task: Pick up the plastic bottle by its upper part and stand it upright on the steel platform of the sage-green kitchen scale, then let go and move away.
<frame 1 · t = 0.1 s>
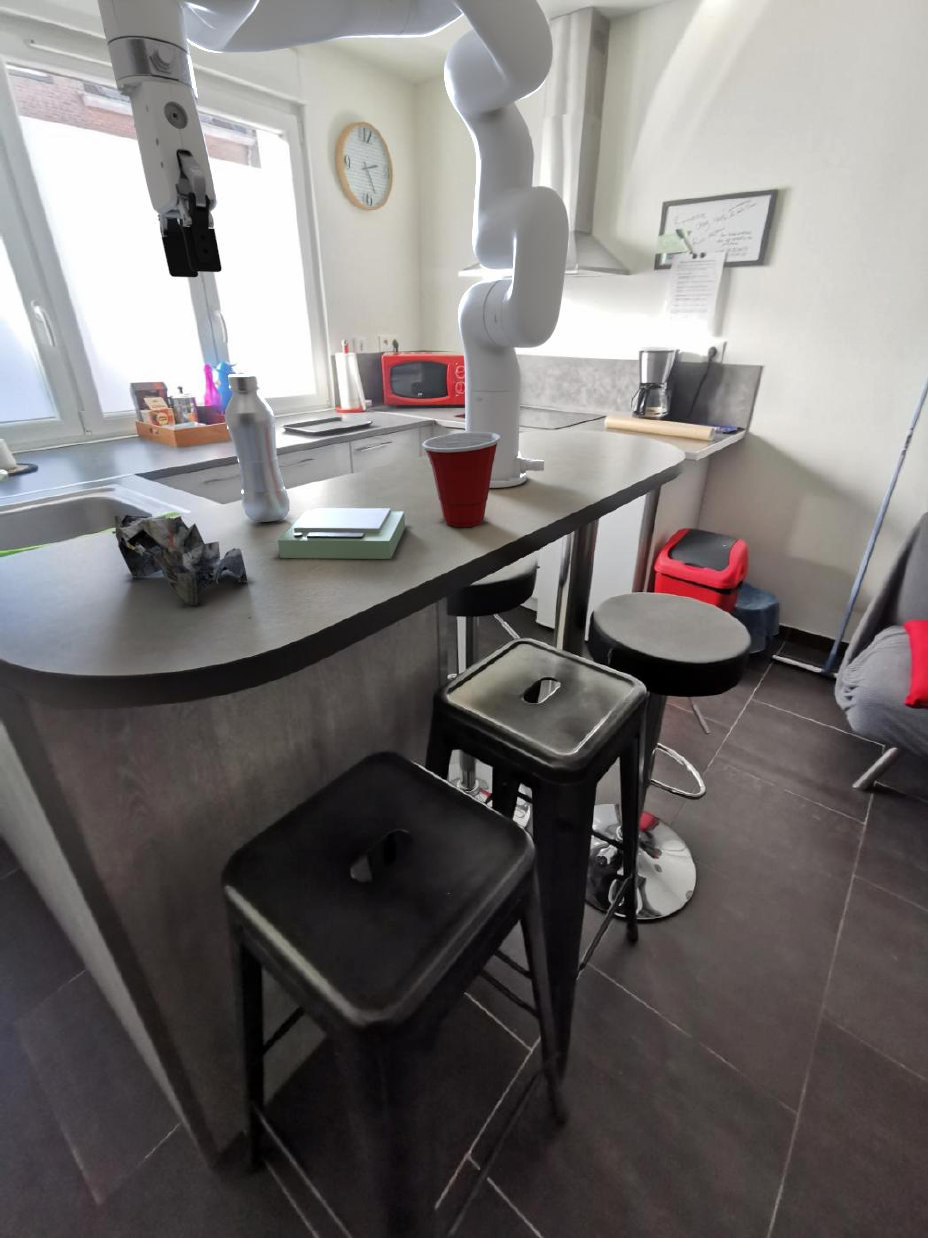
hand: (195, 274, 66), 31 cm above the countertop, tool pointing down, fingers open, 9 cm apart
crumpled newspaper: (188, 585, 64), on the countertop
plastic cup: (462, 522, 83), on the countertop
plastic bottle: (269, 521, 85), on the countertop
scale: (346, 541, 76), on the countertop
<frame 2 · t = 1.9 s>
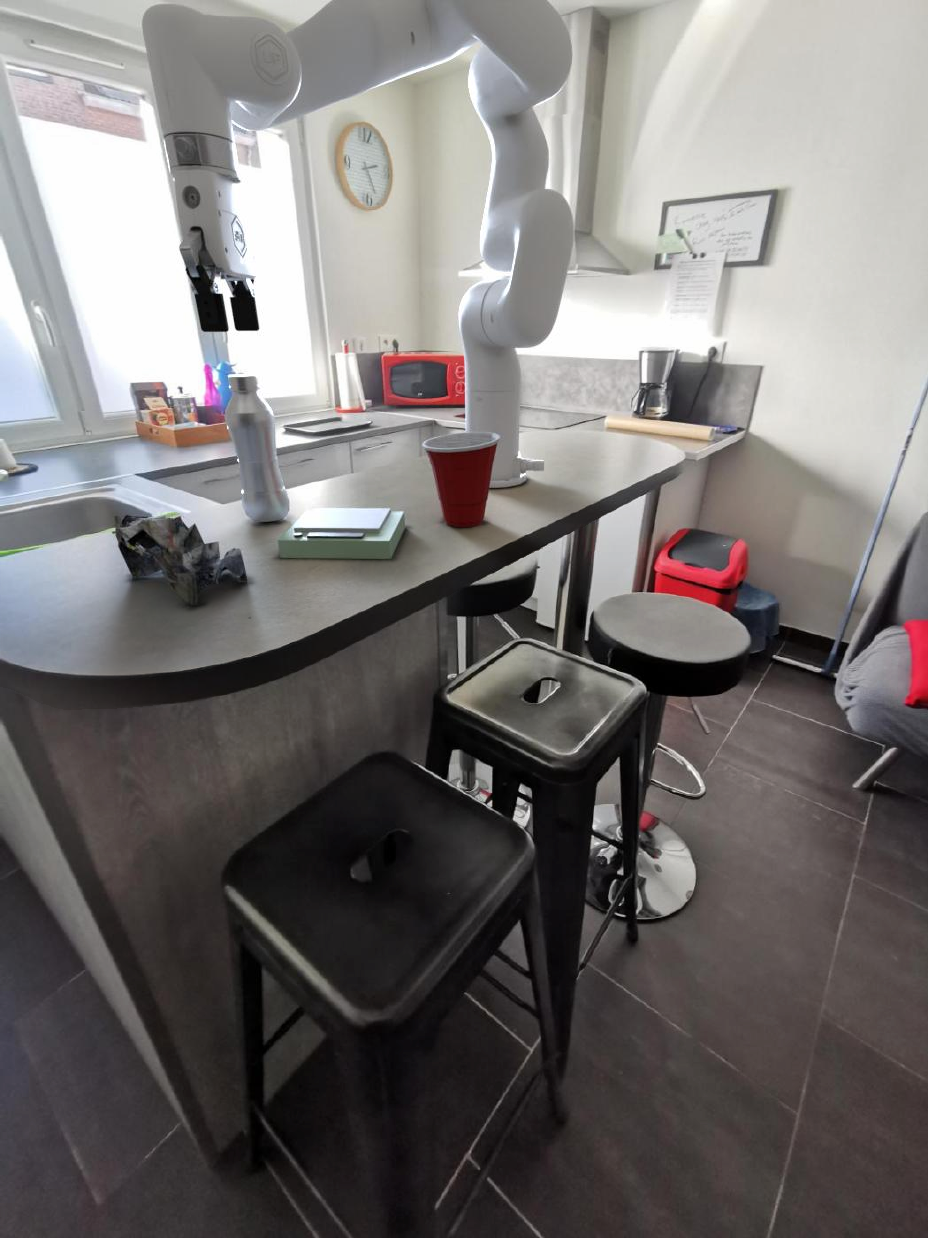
hand: (232, 331, 72), 25 cm above the countertop, tool pointing down, fingers open, 9 cm apart
nothing on the countertop moved.
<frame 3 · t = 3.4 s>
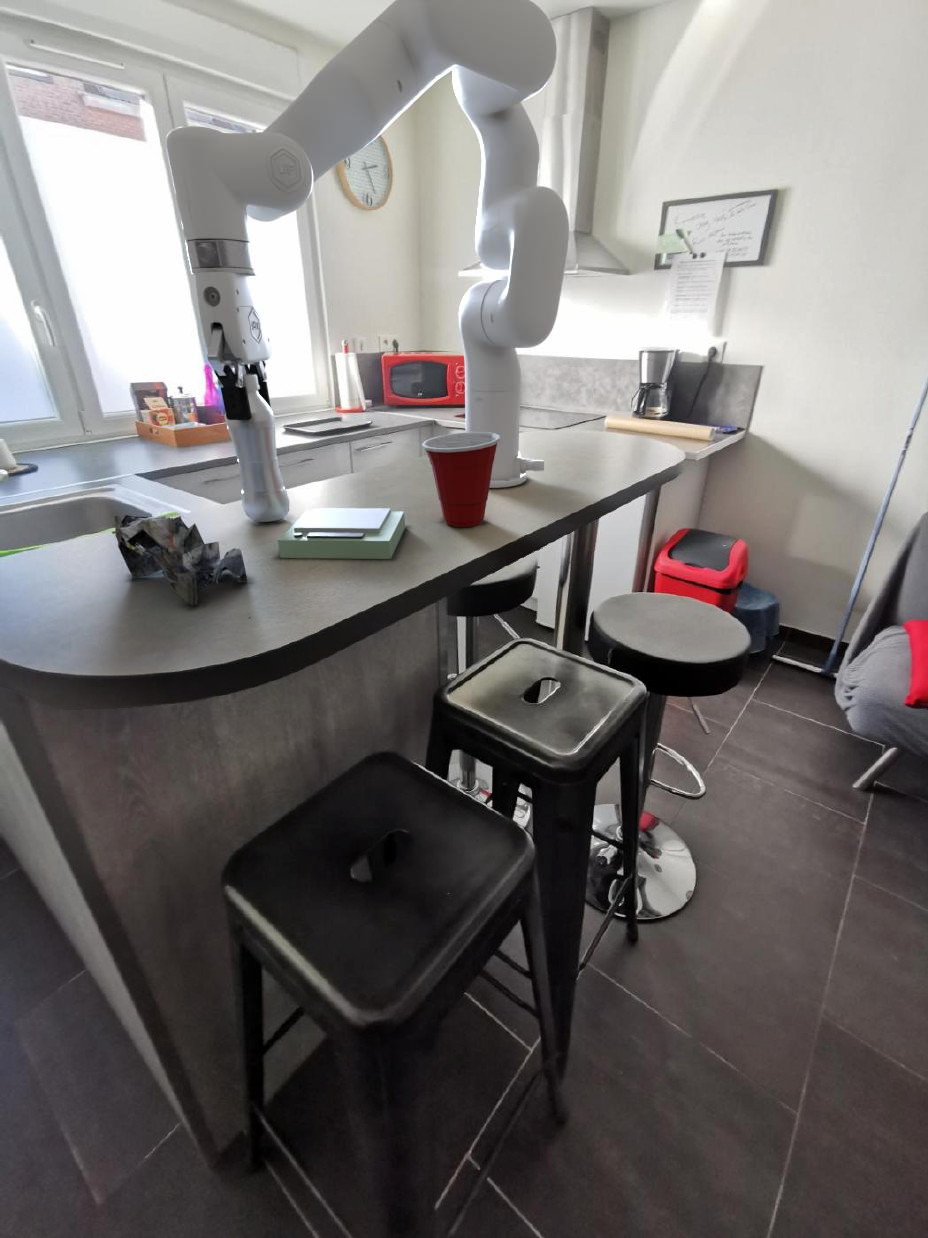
hand: (250, 414, 77), 15 cm above the countertop, tool pointing down, fingers closed on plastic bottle, 6 cm apart
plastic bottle: (269, 521, 85), on the countertop, touching gripper
everything else where it was.
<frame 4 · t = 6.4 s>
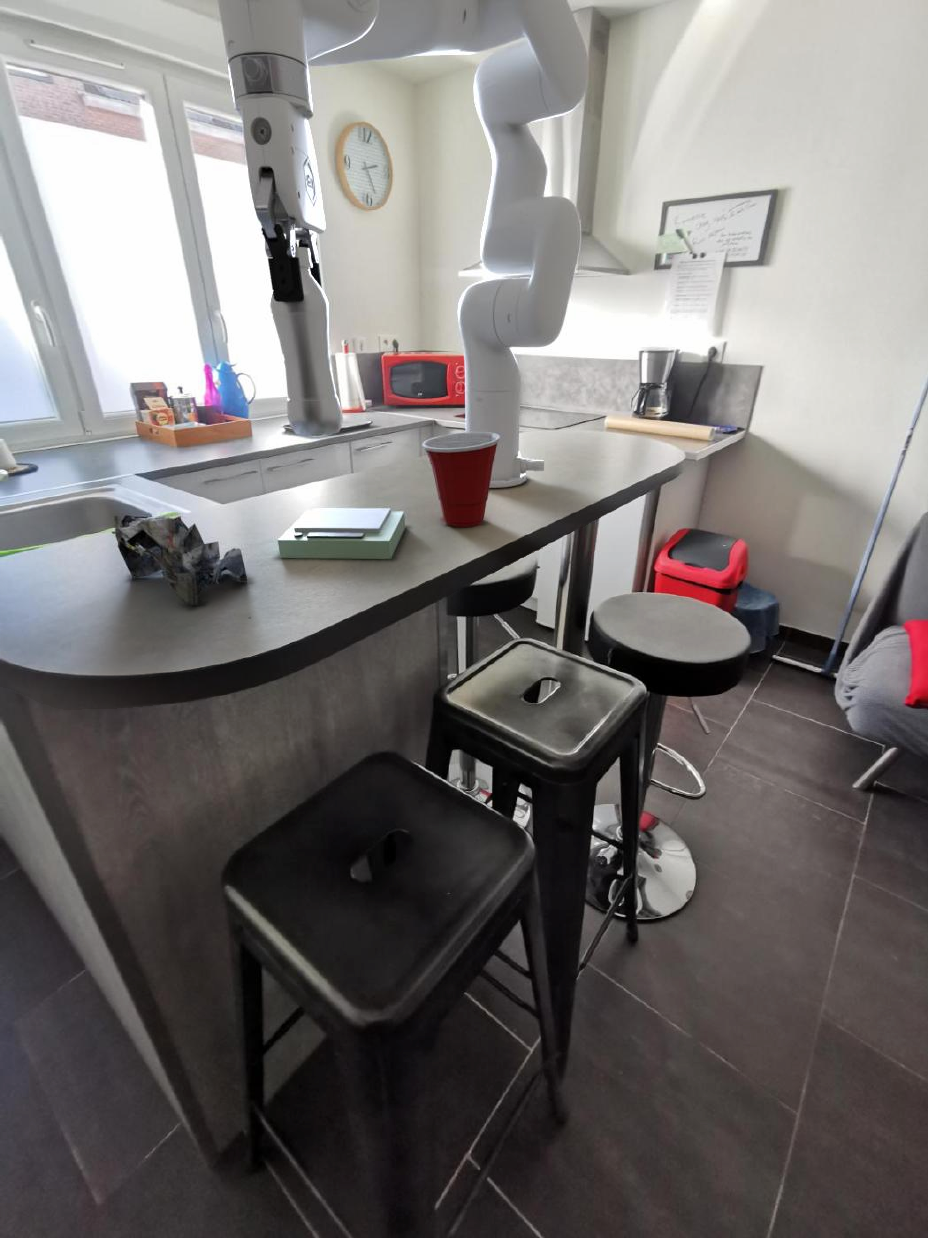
hand: (299, 300, 64), 28 cm above the countertop, tool pointing down, fingers closed on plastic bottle, 6 cm apart
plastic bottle: (318, 438, 71), point 13 cm above the countertop, touching gripper
everything else where it was.
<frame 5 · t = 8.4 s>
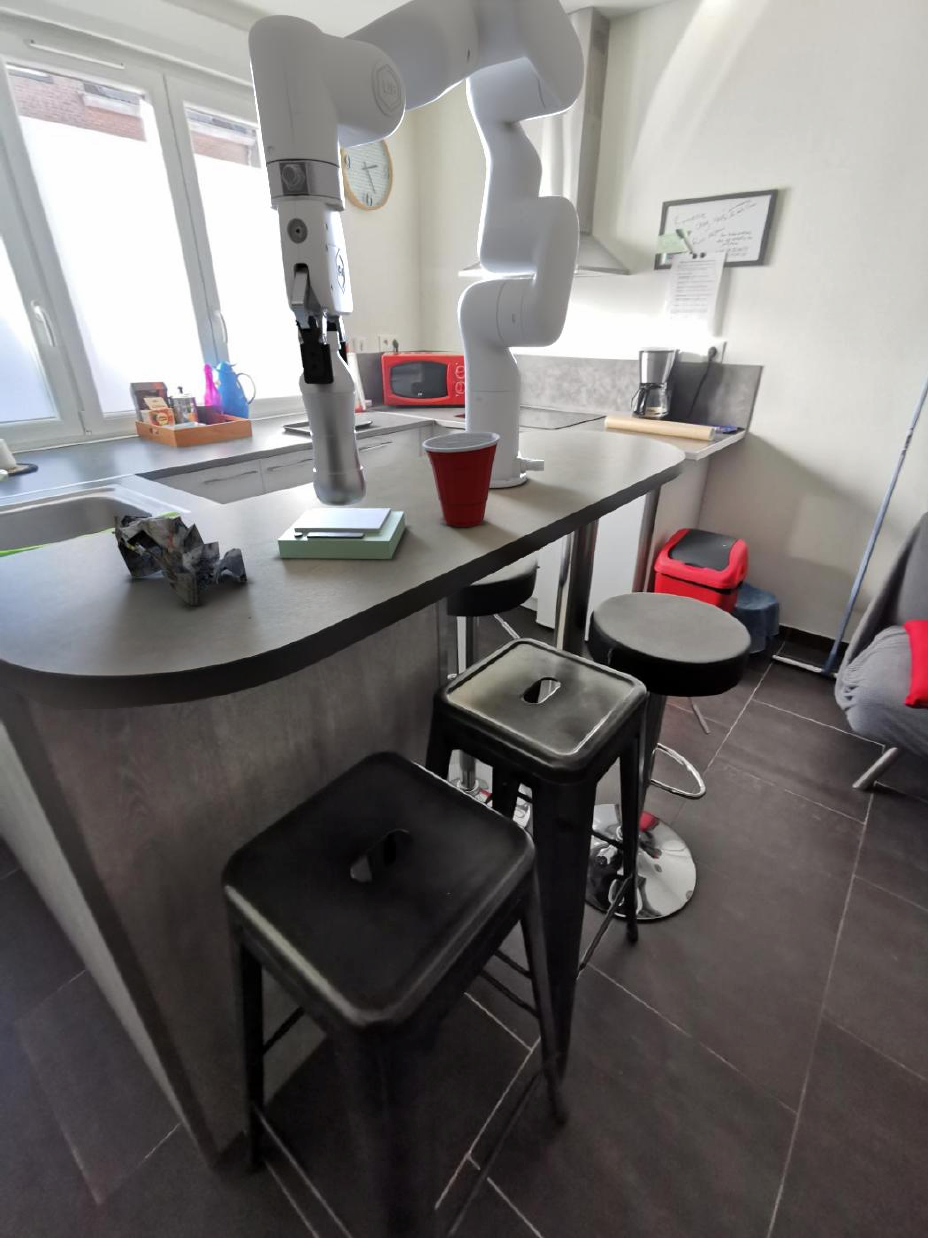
hand: (327, 378, 66), 20 cm above the countertop, tool pointing down, fingers closed on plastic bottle, 6 cm apart
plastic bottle: (342, 505, 73), point 5 cm above the countertop, touching gripper
everything else where it was.
when the fingers open (18 cm above the countertop, at t = 9.6 s): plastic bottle stays where it is, resting on scale.
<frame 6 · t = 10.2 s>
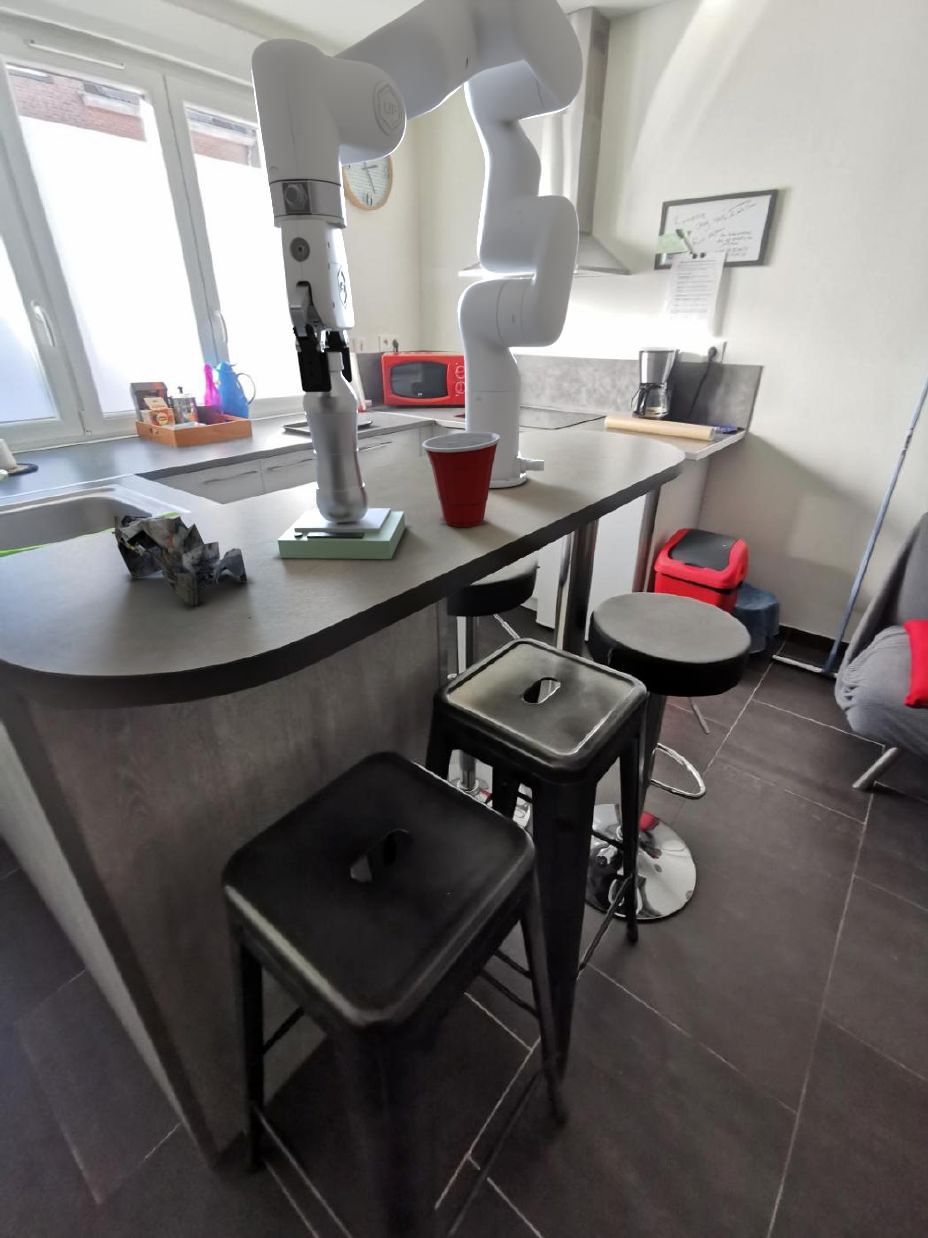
hand: (329, 386, 67), 19 cm above the countertop, tool pointing down, fingers open, 9 cm apart
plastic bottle: (344, 521, 75), point 3 cm above the countertop, touching scale
everything else where it was.
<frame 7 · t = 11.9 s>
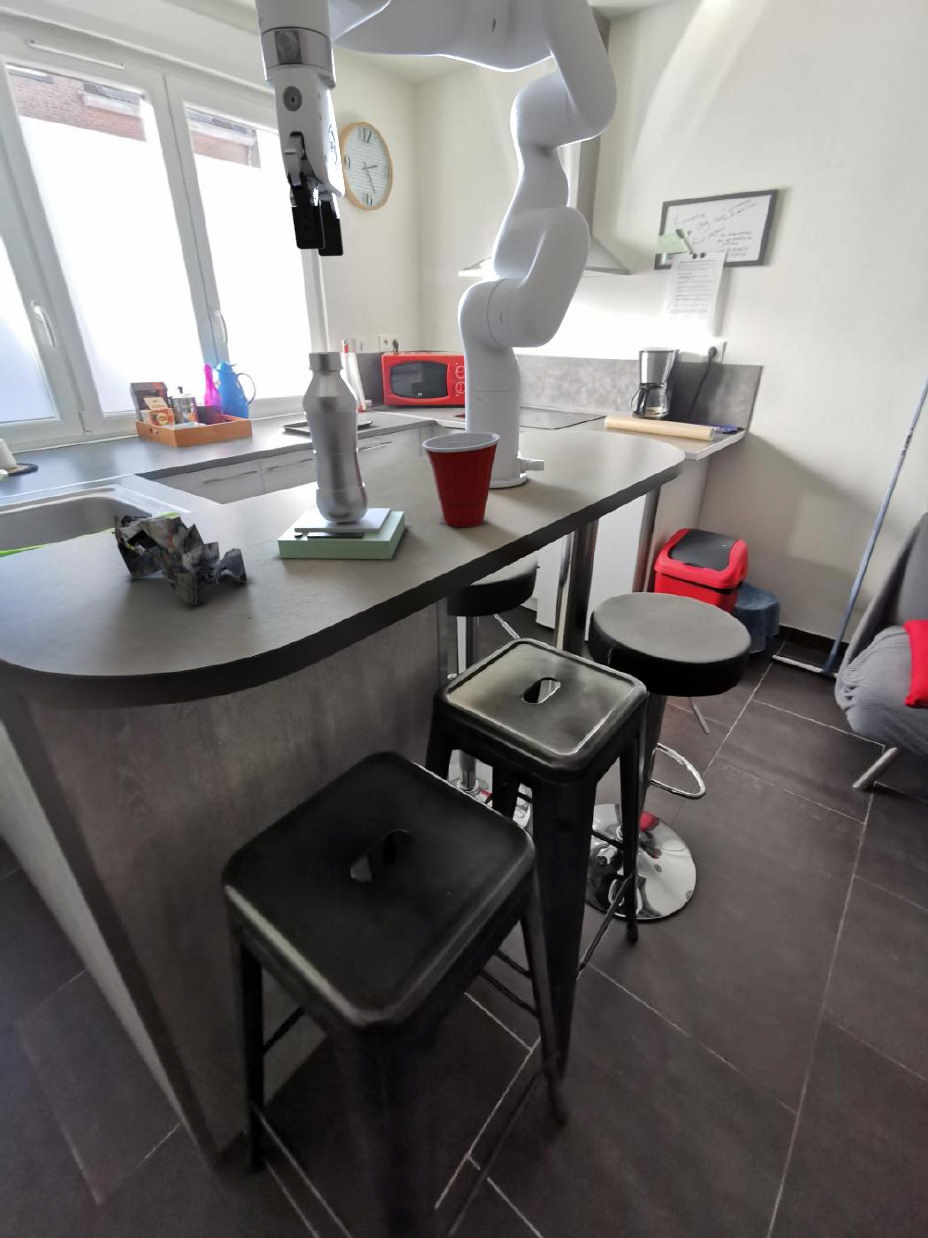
hand: (321, 252, 70), 34 cm above the countertop, tool pointing down, fingers open, 9 cm apart
nothing on the countertop moved.
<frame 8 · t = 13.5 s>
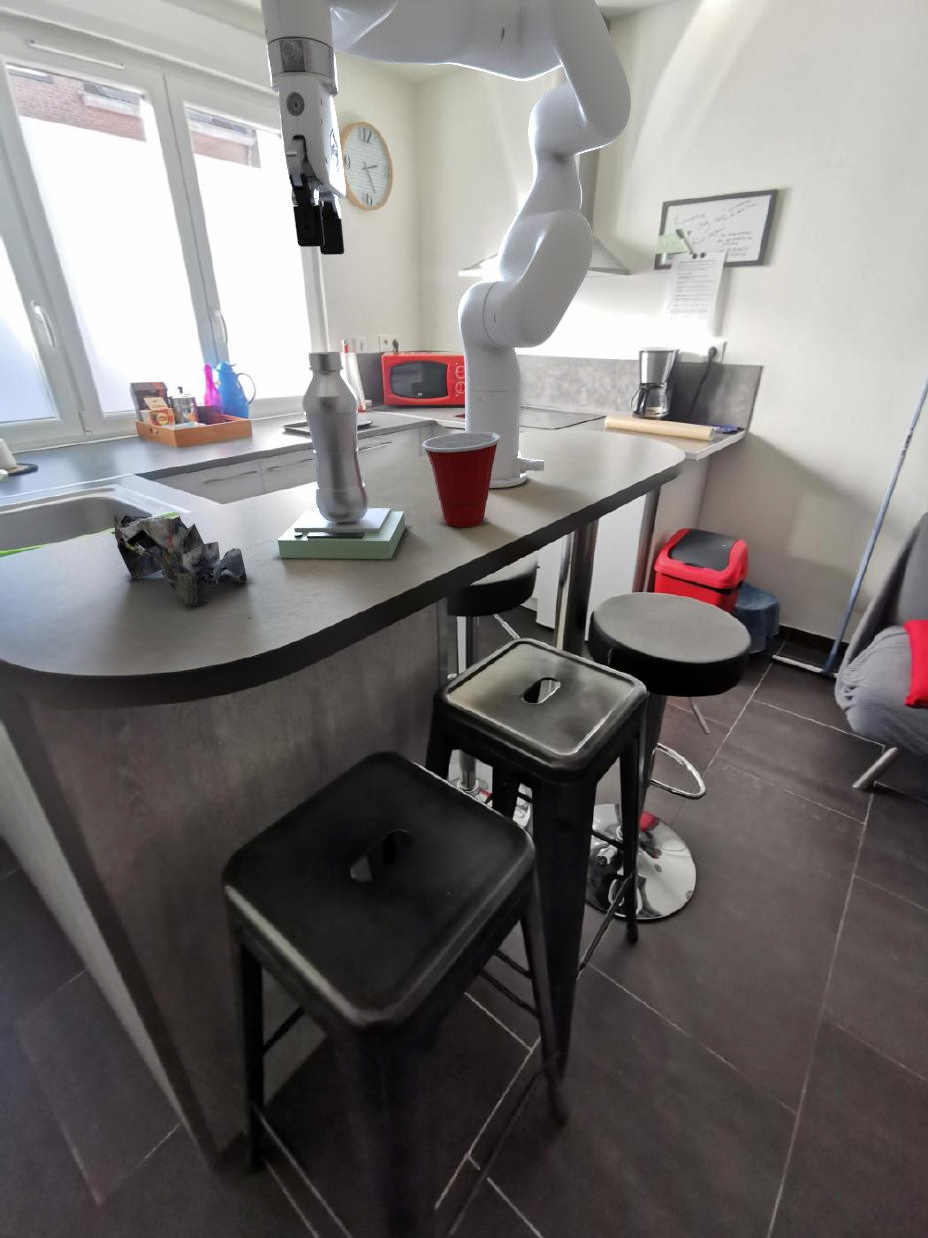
hand: (322, 250, 73), 34 cm above the countertop, tool pointing down, fingers open, 9 cm apart
nothing on the countertop moved.
at the end: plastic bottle inside the target area on the scale (0.7 cm from its centre), point 2.8 cm above the scale's base; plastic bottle tilted 0°; the gripper is holding nothing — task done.
